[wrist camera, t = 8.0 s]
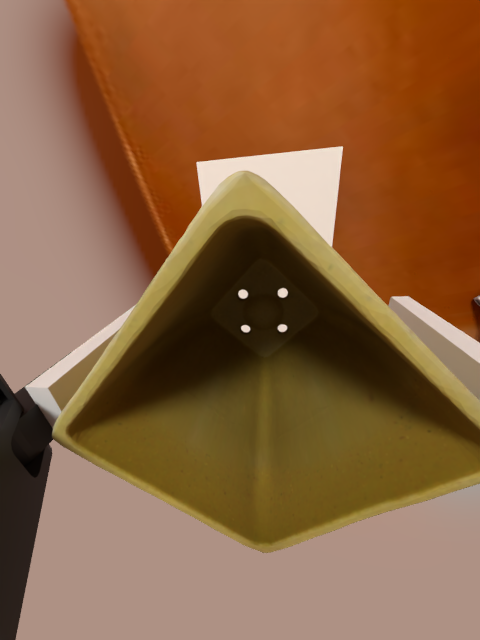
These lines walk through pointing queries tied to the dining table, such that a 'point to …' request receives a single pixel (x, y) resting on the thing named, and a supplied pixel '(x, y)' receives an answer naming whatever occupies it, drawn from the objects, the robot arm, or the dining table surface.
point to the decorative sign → (477, 300)
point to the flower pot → (271, 385)
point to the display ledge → (287, 186)
